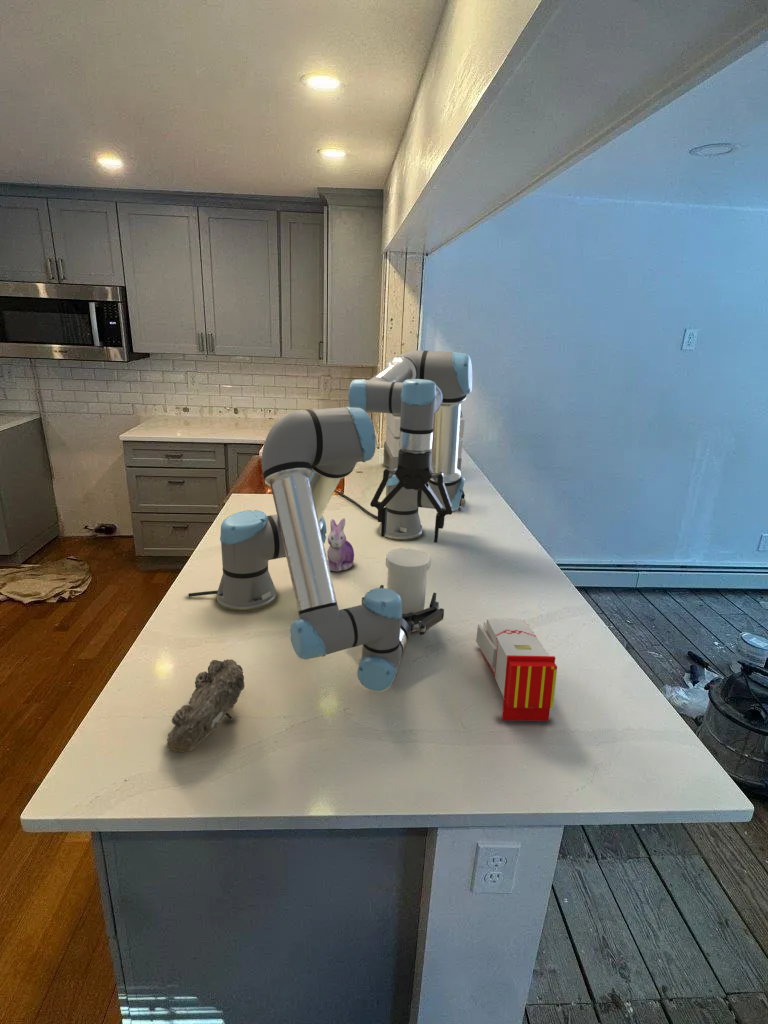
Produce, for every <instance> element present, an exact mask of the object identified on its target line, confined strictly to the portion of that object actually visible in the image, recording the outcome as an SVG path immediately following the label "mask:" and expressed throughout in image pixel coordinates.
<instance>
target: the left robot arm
mask: <svg viewBox="0 0 768 1024" xmlns="http://www.w3.org/2000/svg"><path fill="white" fill-rule="evenodd" d="M376 441H377V440H376V432H375V428H374V423H373V421H372V419H371V417H370V415H369V413H368V412H366V411H365V410H363V409H361V408H351V407H350V406H345V407H329V408H328V407H327V408H313V409H295V410H291V411H289V412H287V413H285V414H283V415H282V416H281V417H279V418H278V419H277V420H276V421H275V422H274V423H273V425H272V427H271V428H270V430H269V431H268V433H267V435H266V438H265V440H264V443H263V447H262V452H261V471H262V476H263V481H264V483H265V485H266V486H269V487H270V489H271V493H272V498H273V503H274V507H275V511H276V514H270V515H267V514H266V513H265V512H264V511H262V510H257V509H255V510H252V509H249V510H242V511H237V512H235V513H232V514H231V515H228V516H227V517H226V518H225V519H224V520H223V521H222V522H221V525H220V535H219V536H220V537H219V541H220V547H221V549H220V550H221V561H222V563H221V564H222V565H221V566H222V576H221V579H220V582H219V585H218V589H217V590H208V591H207V590H206V591H197V592H189V593H188V597H189V598H190V597H199V596H207V595H208V596H209V595H216V596H217V597H216V599H217V601H216V602H217V604H218V605H219V606H220V607H221V608H223V609H225V610H228V611H233V612H240V613H241V612H244V613H245V612H254V611H258V610H262V609H264V608H267V607H268V606H270V605H272V604H273V602H275V600H276V598H277V591H276V586H275V583H274V581H273V578H272V576H271V573H270V571H269V561H272V560H277V559H283V558H286V562H287V566H288V571H289V575H290V580H291V585H292V589H293V594H294V598H295V602H296V608H297V612H298V618H297V619H295V620H293V621H292V622H291V624H290V627H289V634H290V644H291V646H292V649H293V651H294V653H295V655H296V656H297V657H298V658H299V659H301V660H304V661H305V660H310V659H316V658H319V657H326V656H328V655H331V654H335V653H338V652H341V651H345V650H348V649H352V648H357V647H360V646H362V651H361V652H362V654H361V659H359V661H358V667H357V670H356V675H357V676H356V677H357V680H358V681H359V683H360V684H361V685H362V686H363V687H364V688H366V689H367V690H369V691H373V692H383V691H385V690H387V689H388V688H390V687H391V685H392V684H393V682H394V680H395V679H396V677H397V675H398V674H397V673H398V669H399V666H400V664H401V660H402V657H403V654H404V651H405V649H406V646H407V643H408V640H409V637H410V634H411V633H413V632H412V631H413V630H416V631H415V632H419V633H418V634H419V635H420V636H424V635H425V634H426V632H427V631H429V630H430V629H431V628H432V627H434V626H436V625H437V624H439V623H440V622H442V621H443V620H444V618H445V617H444V615H445V609H444V608H439V605H440V603H439V601H437V592H433V593H432V595H431V599H430V602H429V607H427V608H424V610H421V611H418V612H416V613H413V612H410V613H408V614H403V613H402V601H401V597H400V596H399V594H397V593H396V592H395V591H393V590H390V589H387V587H385V585H383V584H381V585H379V587H376V588H372V589H370V590H369V591H367V592H365V594H364V596H362V597H361V604H359V605H355V606H351V607H347V608H343V609H339V607H338V601H337V596H336V592H335V587H334V584H333V583H334V582H333V579H332V574H331V570H329V565H328V557H327V552H326V549H325V543H326V540H327V535H326V534H327V531H328V530H327V524H326V523H327V522H326V520H325V518H324V516H323V514H324V513H325V511H326V508H327V507H328V505H329V503H330V500H331V499H332V497H333V496H334V493H335V492H334V491H335V490H336V489H337V487H338V485H339V483H340V481H341V479H344V478H346V477H348V476H349V475H350V474H351V473H352V472H353V471H354V469H355V467H356V465H357V464H358V463H360V462H362V463H366V462H368V461H371V460H372V459H373V458H374V456H375V453H376V447H377V445H376V444H377V442H376Z"/></svg>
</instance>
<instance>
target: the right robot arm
mask: <svg viewBox="0 0 768 1024" xmlns="http://www.w3.org/2000/svg"><path fill="white" fill-rule="evenodd" d="M472 363H473V362H472V359H471V357H470V355H469V354H468V353H465V352H457V351H445V350H444V351H443V350H441V351H440V350H425V349H424V350H423V349H418V350H417V349H416V350H412V351H411V350H410V351H407V352H404V353H401V354H397V355H396V356H394V357H392V358H391V359H389V360H388V362H387V363H386V364H385V366H384V368H383V369H381V371H379V372H378V373H376V374H375V375H374V376H372V377H371V378H370V379H365V378H362V379H353V380H352V381H351V382H350V385H349V387H348V405H349V407H350V408H361V409H363V410H365V411H366V412H367V413H378V414H379V413H380V414H386V413H391V414H401V418H400V432H399V447H400V448H401V449H400V450H399V452H398V467H397V468H396V469H390V467H387V466H385V467H386V468H385V469H384V470H383V474H382V479H381V481H380V484H379V486H378V488H377V489H376V492H375V494H374V496H373V498H372V499H371V502H370V504H369V505H370V507H372V508H375V509H376V510H377V515H375V514H373V513H371V512H370V511H369V510H367V509H366V508H365V507H363V506H362V505H360V504H359V503H358V502H356V501H355V500H354V499H352V498H350V497H349V496H347V495H345V494H343V493H342V492H340V491H338V490H336V489H335V491H334V493H335V494H338V495H339V496H341V497H343V498H345V499H346V500H347V501H350V502H351V503H352V504H354V505H356V507H358V508H359V509H361V510H362V511H364V512H365V513H366V514H367V515H369V516H371V517H373V518H375V519H377V522H378V523H379V526H378V533H379V534H380V537H382V538H387V539H389V540H395V541H410V540H415V539H418V538H420V537H421V536H422V535H423V525H422V524H421V518H420V515H419V508H422V509H430V510H431V509H433V510H435V511H436V515H435V521H434V523H435V526H434V535H433V543H438V541H439V535H440V534H439V532H440V529H441V530H443V529H444V526H445V517H446V516H449V515H452V514H453V512H455V511H457V510H459V509H458V508H459V504H460V500H461V496H462V491H464V486H465V482H466V478H465V477H463V476H462V473H461V472H462V471H461V472H460V470H459V469H457V458H458V442H459V426H460V410H461V411H462V407H461V406H462V403H463V402H464V401H466V399H467V395H469V394H471V393H472V391H473V365H472ZM431 449H432V451H430V450H431ZM384 490H385V497H384V498H383V499H382V500H381V501H379V500H380V497H381V495H382V493H383V492H384Z"/></svg>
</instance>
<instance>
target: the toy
mask: <svg viewBox="0 0 768 1024" xmlns="http://www.w3.org/2000/svg"><path fill="white" fill-rule="evenodd" d="M476 629H477V631H476V638H475V642H476V645H477V646H478V648H479V650H480V652H481V654H482V656H483V658H484V660H485V661H486V664H487V666H488V668H489V669H490V671H491V672H492V675H493V676H494V679H495V681H496V685H497V686H498V688H499V690H500V692H501V695H502V697H503V701H502V712H501V720H502V721H521V722H523V721H526V722H528V721H529V722H550V712H551V709H554V702H555V692H556V681H557V673H558V665H557V664H556V656H555V655H550V654H549V652H548V651H547V650H546V648H545V647H544V645H543V644H542V642H541V641H540V639H539V638H538V637H537V635H536V634H535V632H534V631H533V629H532V627H531V625H530V624H528V623H527V621H526V619H521V618H518V619H515V618H513V619H512V618H486V620H484V621H483V626H482V625H481V624H477V628H476Z"/></svg>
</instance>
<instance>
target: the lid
mask: <svg viewBox="0 0 768 1024" xmlns="http://www.w3.org/2000/svg"><path fill="white" fill-rule="evenodd" d="M431 560H432V559H431V556H430V555H429V554H428V553H427V552H426V551H423V550H421V549H416V548H407V547H405V548H396V549H392V550H390V551H388V552H387V554H386V557H385V566H386V568H387V570H388V569H389V570H391V571H393V572H395V573H398V574H403V575H418V574H422V573H425V572H427V573H428V571H429V570H430V569H431V562H432V561H431Z"/></svg>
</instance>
